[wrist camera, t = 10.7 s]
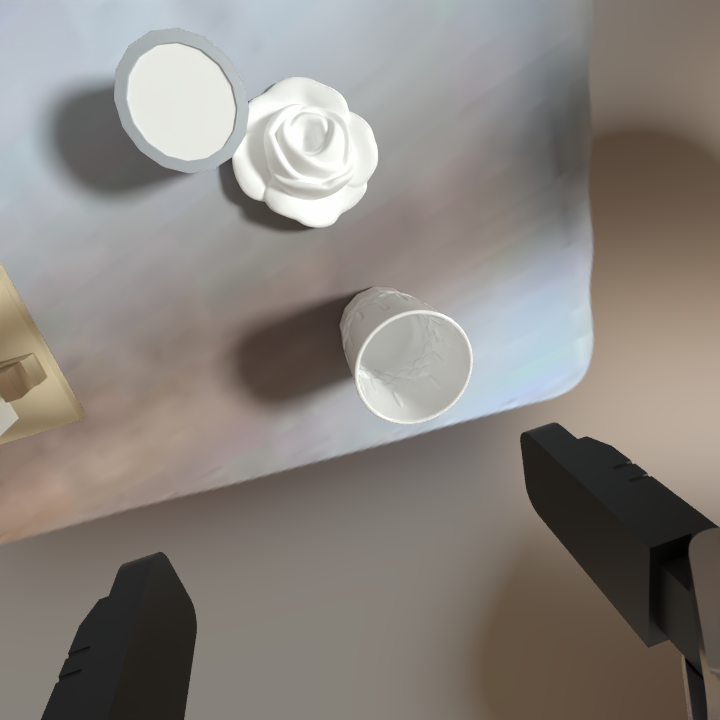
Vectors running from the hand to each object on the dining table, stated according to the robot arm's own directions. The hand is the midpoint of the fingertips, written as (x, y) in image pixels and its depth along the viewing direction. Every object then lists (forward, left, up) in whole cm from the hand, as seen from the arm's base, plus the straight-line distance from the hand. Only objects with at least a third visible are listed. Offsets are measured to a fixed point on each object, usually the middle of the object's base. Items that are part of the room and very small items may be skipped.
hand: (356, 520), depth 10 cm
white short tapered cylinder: (-12, -3, -28) cm, 31 cm away
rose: (-8, +4, -29) cm, 30 cm away
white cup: (+6, +6, -28) cm, 30 cm away
